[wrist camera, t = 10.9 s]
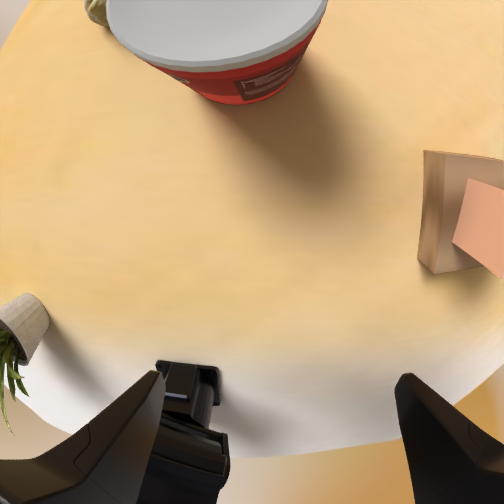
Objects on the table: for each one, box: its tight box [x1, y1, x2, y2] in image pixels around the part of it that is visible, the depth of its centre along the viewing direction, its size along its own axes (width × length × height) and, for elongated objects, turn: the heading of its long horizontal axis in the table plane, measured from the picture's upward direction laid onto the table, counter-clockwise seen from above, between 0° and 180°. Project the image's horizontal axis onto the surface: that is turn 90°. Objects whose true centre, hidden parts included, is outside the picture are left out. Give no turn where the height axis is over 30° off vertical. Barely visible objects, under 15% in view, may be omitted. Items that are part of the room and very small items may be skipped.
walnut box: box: [417, 150, 504, 274], centre depth 17 cm, size 9×9×4 cm
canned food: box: [106, 0, 328, 104], centre depth 10 cm, size 8×8×11 cm
